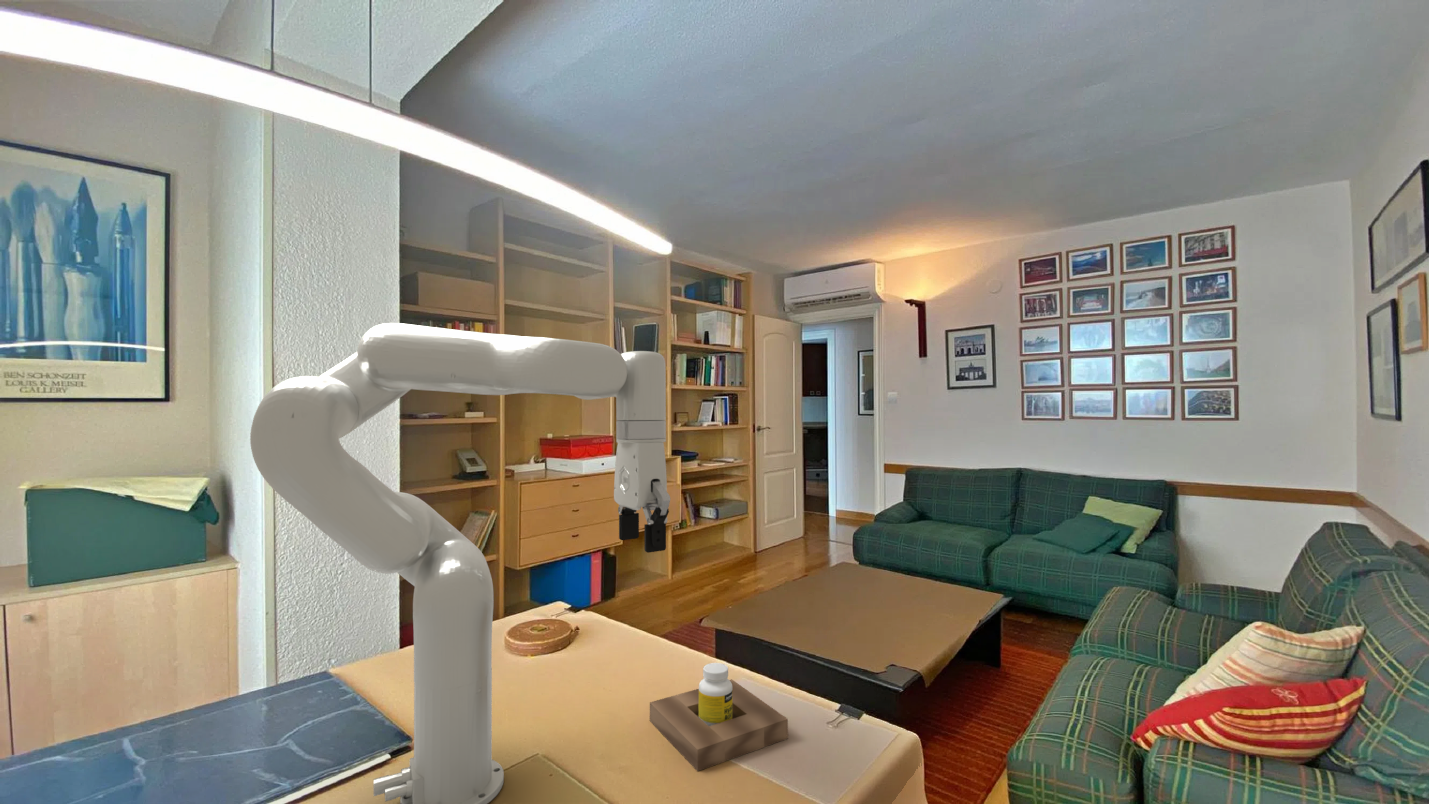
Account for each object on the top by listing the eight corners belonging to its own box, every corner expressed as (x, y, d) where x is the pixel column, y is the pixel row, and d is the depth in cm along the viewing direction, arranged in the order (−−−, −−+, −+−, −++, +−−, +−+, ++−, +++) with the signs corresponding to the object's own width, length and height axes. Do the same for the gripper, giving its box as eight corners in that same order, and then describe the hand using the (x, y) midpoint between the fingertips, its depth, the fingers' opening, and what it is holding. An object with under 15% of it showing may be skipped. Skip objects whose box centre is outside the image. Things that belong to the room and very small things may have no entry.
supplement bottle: (729, 740, 91) (729, 676, 91) (695, 737, 92) (694, 673, 92) (735, 722, 96) (734, 661, 97) (702, 719, 98) (702, 659, 98)
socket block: (697, 771, 83) (697, 749, 83) (649, 720, 97) (649, 702, 97) (787, 738, 92) (787, 718, 92) (732, 696, 105) (731, 679, 105)
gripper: (598, 431, 96) (598, 537, 96) (641, 434, 81) (642, 560, 81) (640, 430, 100) (641, 532, 100) (689, 433, 85) (690, 553, 85)
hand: (641, 544), depth 90 cm, fingers open, 9 cm apart
